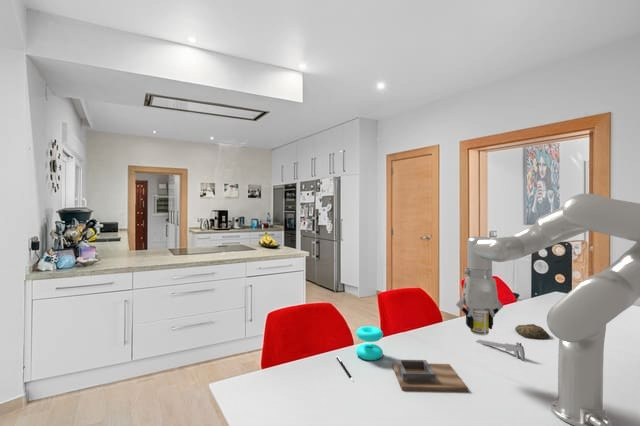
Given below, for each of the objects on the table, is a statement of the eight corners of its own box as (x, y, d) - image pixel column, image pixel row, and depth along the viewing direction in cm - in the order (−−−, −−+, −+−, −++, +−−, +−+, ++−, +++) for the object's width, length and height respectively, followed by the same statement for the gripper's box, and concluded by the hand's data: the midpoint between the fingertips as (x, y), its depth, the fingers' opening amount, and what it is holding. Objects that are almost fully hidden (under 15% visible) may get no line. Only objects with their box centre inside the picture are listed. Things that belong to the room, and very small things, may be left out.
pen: (337, 357, 127) (337, 354, 127) (354, 382, 108) (354, 379, 108) (335, 357, 127) (335, 354, 127) (351, 382, 108) (351, 379, 108)
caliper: (524, 361, 125) (524, 344, 124) (522, 361, 124) (523, 344, 124) (477, 341, 143) (477, 327, 143) (475, 342, 142) (475, 327, 142)
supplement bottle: (482, 330, 116) (482, 300, 116) (492, 335, 110) (492, 304, 110) (467, 330, 115) (467, 300, 115) (476, 336, 110) (476, 305, 110)
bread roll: (521, 338, 147) (521, 327, 147) (512, 329, 159) (512, 318, 159) (554, 341, 144) (554, 330, 144) (542, 331, 156) (543, 320, 156)
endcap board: (467, 391, 102) (467, 379, 102) (401, 390, 103) (402, 378, 103) (449, 367, 118) (449, 356, 118) (392, 366, 119) (392, 355, 119)
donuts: (388, 332, 125) (364, 335, 121) (387, 359, 125) (364, 363, 121) (374, 323, 134) (352, 326, 131) (374, 348, 134) (351, 352, 131)
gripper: (457, 275, 109) (457, 331, 109) (511, 276, 109) (511, 331, 109) (449, 271, 117) (449, 323, 117) (499, 271, 116) (499, 324, 116)
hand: (479, 327), depth 113 cm, fingers closed on supplement bottle, 5 cm apart
